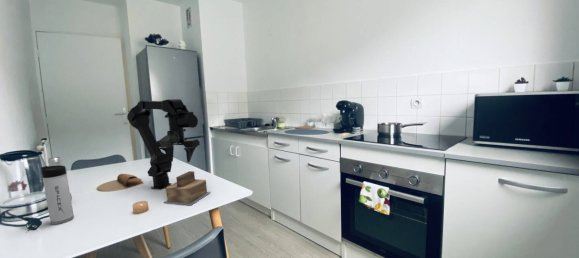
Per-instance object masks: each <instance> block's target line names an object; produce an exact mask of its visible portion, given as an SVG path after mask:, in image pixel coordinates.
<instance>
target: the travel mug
mask: <svg viewBox="0 0 579 258" xmlns="http://www.w3.org/2000/svg"><path fill="white" fill-rule="evenodd" d="M65 167H66V166H65V165H64V166H61V165H56V166H49V165H45V166H41V167H40V171H41V175H42V181H43V188H44V193H45V198H46V204H47V209H48V216H49V220H50V224H51V225H61V224H64V222H65V223H67V221H68V222H69V221H71V220H73V219H74V218H75V215H74V210H73V209H74V208H73V203H72V202H73V201H71V196H72V195H71V196H70V193H71V192H70V186H69V185H70V184H69V179H68V172H67V173H66V169H67V167H66V168H65ZM60 223H61V224H60Z"/></svg>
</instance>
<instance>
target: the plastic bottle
mask: <svg viewBox="0 0 579 258" xmlns="http://www.w3.org/2000/svg"><path fill="white" fill-rule="evenodd" d="M61 162H62V159H61V156H55V157H49V158H47V164H48V166H56V165H61V166H65V165H64V164H62V163H61ZM65 168H66V173H67V174H68V170H67V167H66V166H65ZM70 196H71V202H73V196H72V193H71V192H70Z"/></svg>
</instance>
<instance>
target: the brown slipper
mask: <svg viewBox="0 0 579 258" xmlns="http://www.w3.org/2000/svg"><path fill="white" fill-rule="evenodd" d="M116 180H117V181H118V182H120V183H121V184H122V185H123V186H124V187H126V188H131V187H134V186H140V185H143V184H144V182H143V181H142V180H141V179H140V178H138V177H137V176H136V175H133V174H128V173H120V174H118V175H117V178H116Z"/></svg>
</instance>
